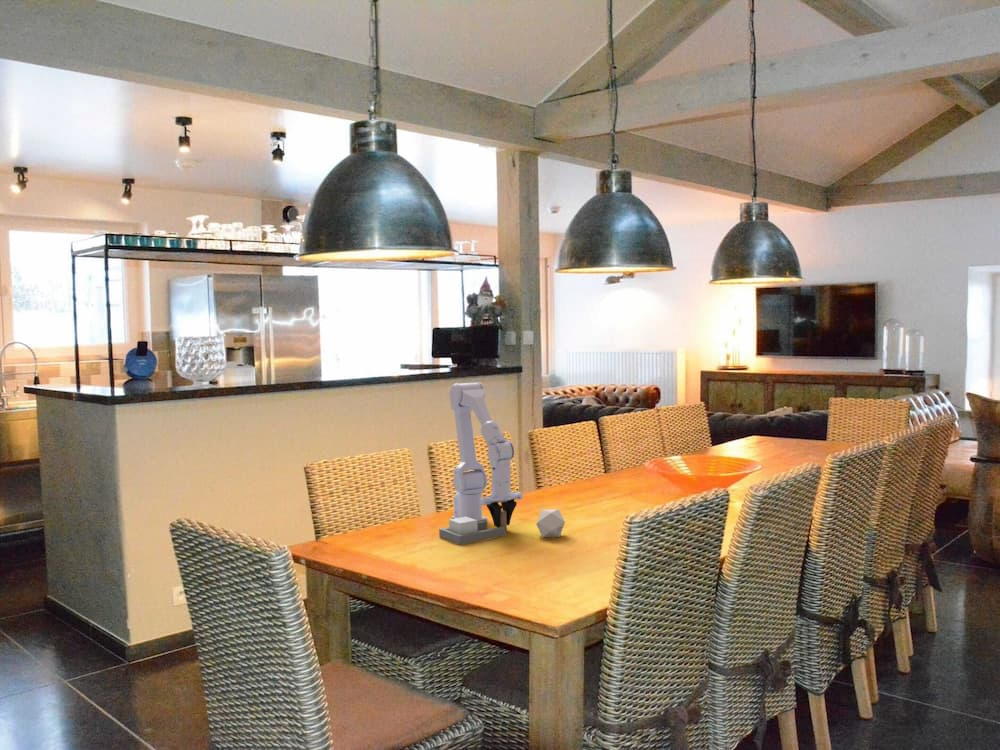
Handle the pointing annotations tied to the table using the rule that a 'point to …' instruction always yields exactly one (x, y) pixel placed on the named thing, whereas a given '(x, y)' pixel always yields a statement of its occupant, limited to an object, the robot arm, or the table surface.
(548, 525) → the die
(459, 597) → the table surface
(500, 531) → the dark grey tray
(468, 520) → the tethered block
